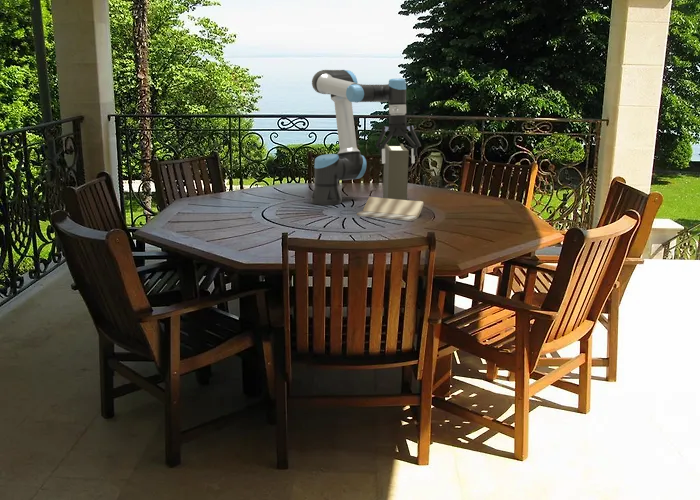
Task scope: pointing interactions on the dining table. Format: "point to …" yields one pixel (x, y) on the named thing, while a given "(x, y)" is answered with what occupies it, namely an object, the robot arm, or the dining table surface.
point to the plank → (394, 206)
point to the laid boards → (387, 215)
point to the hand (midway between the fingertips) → (398, 163)
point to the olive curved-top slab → (395, 172)
